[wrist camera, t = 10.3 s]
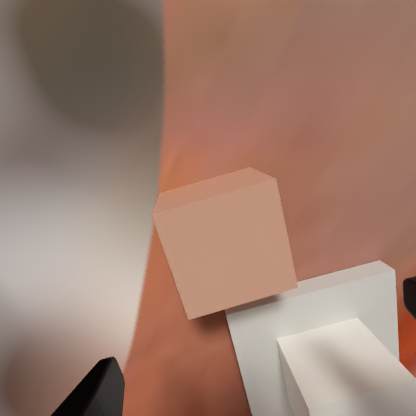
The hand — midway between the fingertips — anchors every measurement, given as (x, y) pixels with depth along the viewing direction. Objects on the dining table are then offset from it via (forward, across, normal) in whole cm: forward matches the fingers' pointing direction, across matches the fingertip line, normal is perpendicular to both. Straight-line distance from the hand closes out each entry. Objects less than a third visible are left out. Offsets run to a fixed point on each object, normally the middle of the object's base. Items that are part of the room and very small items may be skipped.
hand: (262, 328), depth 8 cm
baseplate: (+10, -5, +12) cm, 16 cm away
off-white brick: (+9, -5, +12) cm, 16 cm away
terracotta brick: (+10, 0, 0) cm, 10 cm away
